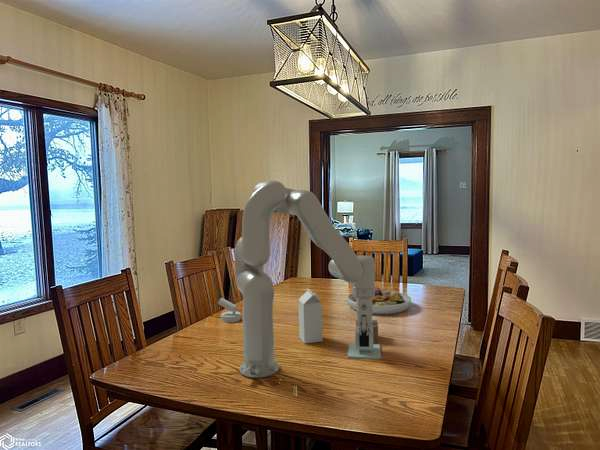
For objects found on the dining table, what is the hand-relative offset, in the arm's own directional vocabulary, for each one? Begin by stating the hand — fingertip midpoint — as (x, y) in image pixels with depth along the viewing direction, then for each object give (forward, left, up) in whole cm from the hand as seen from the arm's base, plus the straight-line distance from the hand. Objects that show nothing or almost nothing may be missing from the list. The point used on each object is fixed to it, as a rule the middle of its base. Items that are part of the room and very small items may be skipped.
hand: (364, 342), depth 146 cm
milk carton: (+10, +20, -4) cm, 23 cm away
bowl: (+57, -7, -4) cm, 58 cm away
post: (+13, -1, -3) cm, 13 cm away
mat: (0, 0, -3) cm, 3 cm away
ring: (0, 0, -1) cm, 1 cm away
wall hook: (+32, +59, -4) cm, 67 cm away
